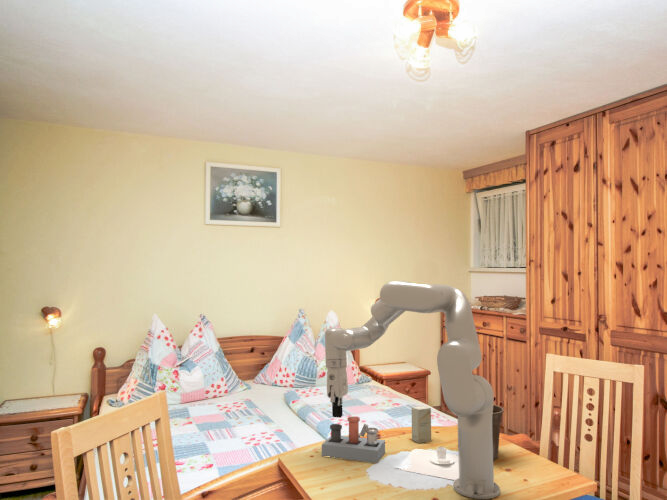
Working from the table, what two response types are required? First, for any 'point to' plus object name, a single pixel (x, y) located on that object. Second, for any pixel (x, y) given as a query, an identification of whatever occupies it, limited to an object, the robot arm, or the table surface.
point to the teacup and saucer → (434, 463)
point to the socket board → (354, 450)
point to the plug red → (353, 429)
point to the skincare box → (421, 424)
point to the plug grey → (372, 436)
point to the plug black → (336, 433)
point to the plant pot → (496, 428)
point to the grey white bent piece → (363, 430)
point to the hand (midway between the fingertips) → (337, 416)
